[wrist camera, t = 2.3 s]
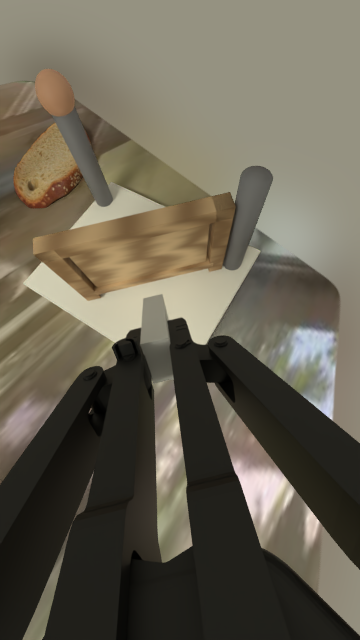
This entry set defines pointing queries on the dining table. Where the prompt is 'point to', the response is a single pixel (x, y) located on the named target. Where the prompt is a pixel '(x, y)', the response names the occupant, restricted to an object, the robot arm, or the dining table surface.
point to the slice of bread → (46, 170)
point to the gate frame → (116, 202)
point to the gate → (140, 246)
